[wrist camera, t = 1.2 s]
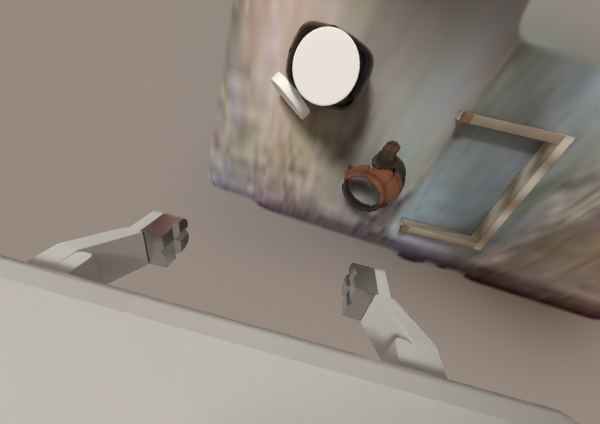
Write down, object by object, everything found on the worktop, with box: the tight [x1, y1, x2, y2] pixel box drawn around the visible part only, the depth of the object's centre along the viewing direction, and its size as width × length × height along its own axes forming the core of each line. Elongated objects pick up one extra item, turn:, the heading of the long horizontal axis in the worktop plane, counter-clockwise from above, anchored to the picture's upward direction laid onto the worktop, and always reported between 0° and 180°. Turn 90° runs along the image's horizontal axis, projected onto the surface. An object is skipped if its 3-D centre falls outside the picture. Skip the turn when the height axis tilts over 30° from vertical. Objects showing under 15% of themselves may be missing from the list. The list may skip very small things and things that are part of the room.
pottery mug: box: [342, 141, 406, 212], centre depth 37 cm, size 12×9×8 cm
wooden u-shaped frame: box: [399, 110, 575, 250], centre depth 37 cm, size 20×15×3 cm
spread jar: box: [271, 21, 374, 119], centre depth 29 cm, size 12×11×12 cm
